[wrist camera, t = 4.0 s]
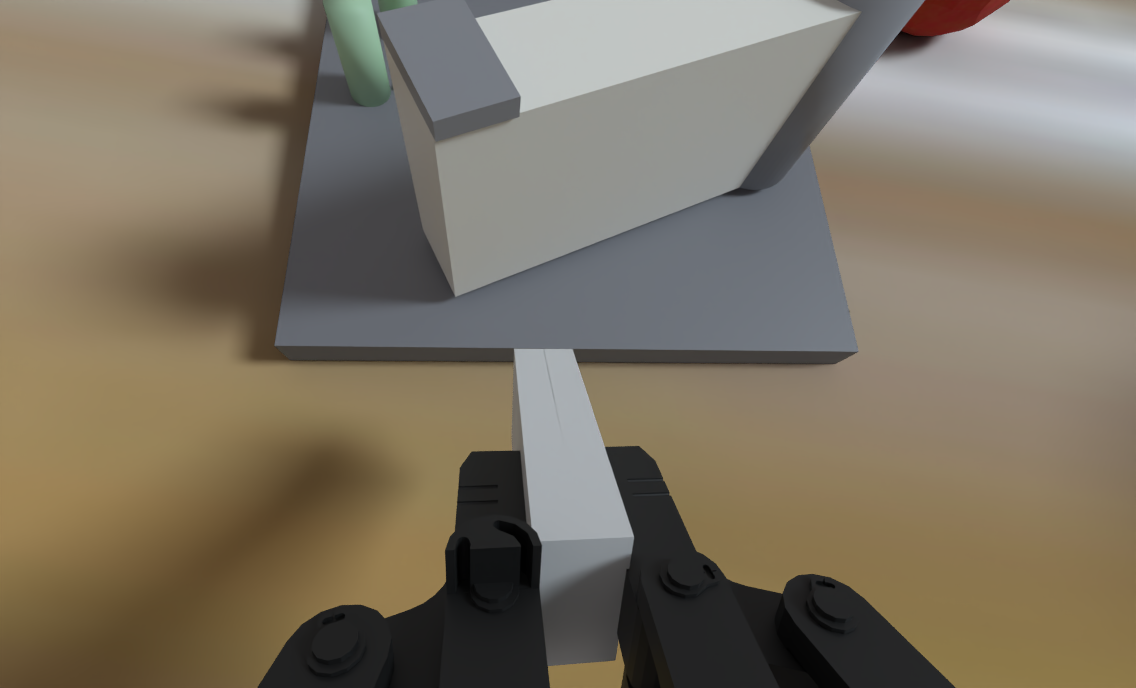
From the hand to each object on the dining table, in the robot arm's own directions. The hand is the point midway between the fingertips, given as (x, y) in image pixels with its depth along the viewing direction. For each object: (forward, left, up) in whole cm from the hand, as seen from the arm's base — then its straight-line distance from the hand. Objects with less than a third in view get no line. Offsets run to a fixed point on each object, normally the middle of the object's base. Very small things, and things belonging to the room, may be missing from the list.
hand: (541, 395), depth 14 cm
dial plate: (-2, -13, -6) cm, 15 cm away
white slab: (-4, -9, -4) cm, 11 cm away
